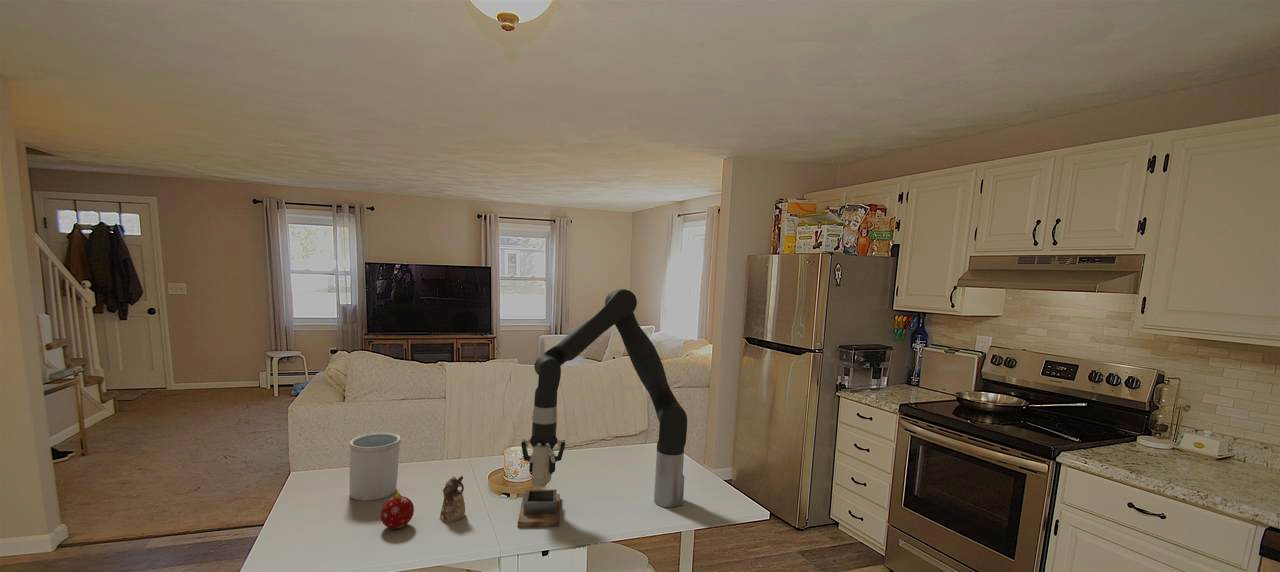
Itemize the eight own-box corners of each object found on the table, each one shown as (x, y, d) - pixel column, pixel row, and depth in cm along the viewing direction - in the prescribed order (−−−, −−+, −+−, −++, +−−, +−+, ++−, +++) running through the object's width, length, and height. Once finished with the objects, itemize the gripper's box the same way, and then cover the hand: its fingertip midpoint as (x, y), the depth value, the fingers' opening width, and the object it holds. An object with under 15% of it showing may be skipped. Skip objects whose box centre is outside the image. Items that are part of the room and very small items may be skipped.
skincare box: (544, 487, 155) (547, 448, 155) (530, 485, 155) (533, 446, 155) (551, 479, 161) (554, 442, 161) (538, 477, 162) (541, 440, 162)
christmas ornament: (382, 537, 139) (384, 501, 138) (377, 524, 146) (379, 490, 145) (416, 529, 144) (417, 494, 144) (409, 517, 151) (411, 484, 150)
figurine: (440, 512, 155) (441, 473, 154) (464, 509, 157) (466, 471, 157) (439, 523, 148) (441, 482, 148) (465, 520, 150) (467, 480, 150)
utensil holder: (396, 499, 162) (399, 444, 162) (343, 504, 157) (346, 448, 156) (399, 481, 176) (402, 431, 176) (351, 485, 170) (353, 434, 170)
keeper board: (560, 498, 168) (560, 494, 168) (558, 526, 150) (559, 521, 150) (523, 498, 167) (523, 494, 167) (517, 527, 148) (517, 522, 148)
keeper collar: (556, 500, 164) (556, 489, 163) (555, 514, 154) (556, 502, 154) (526, 500, 162) (526, 489, 162) (523, 514, 153) (523, 503, 153)
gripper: (567, 416, 163) (565, 469, 163) (522, 416, 161) (519, 468, 161) (567, 423, 155) (564, 478, 155) (520, 422, 153) (517, 478, 153)
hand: (542, 473), depth 158 cm, fingers closed on skincare box, 5 cm apart
